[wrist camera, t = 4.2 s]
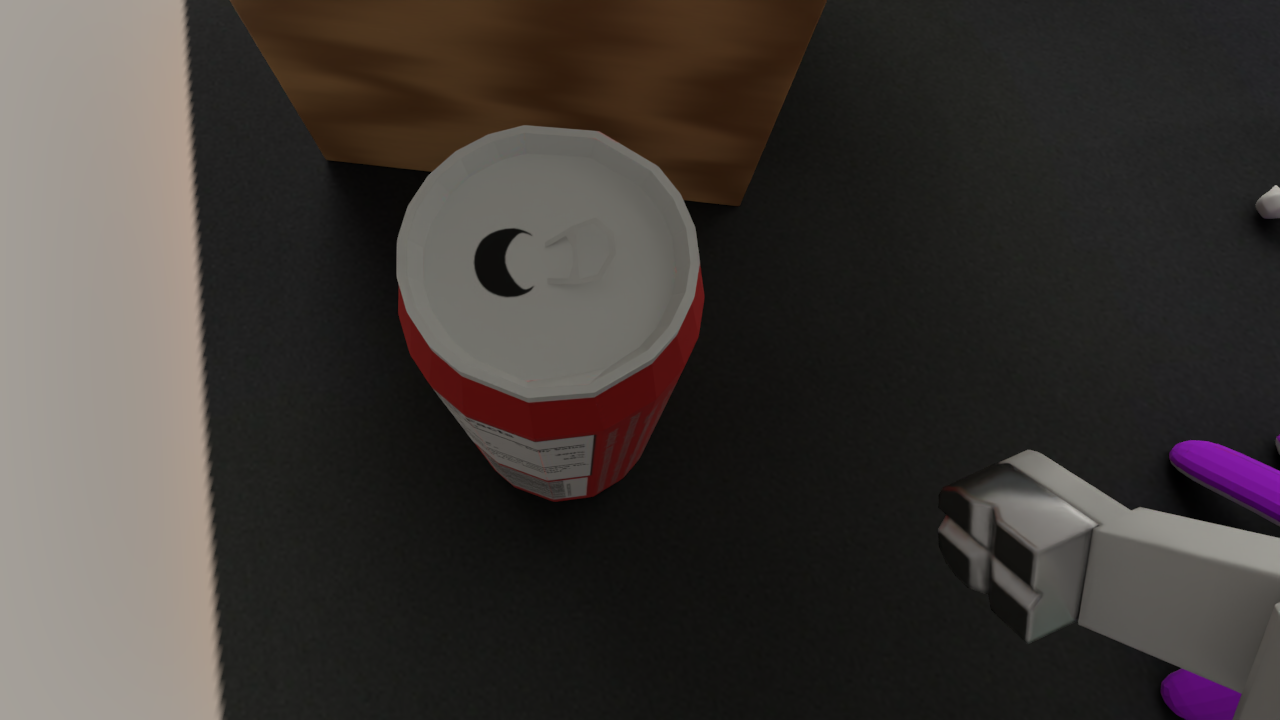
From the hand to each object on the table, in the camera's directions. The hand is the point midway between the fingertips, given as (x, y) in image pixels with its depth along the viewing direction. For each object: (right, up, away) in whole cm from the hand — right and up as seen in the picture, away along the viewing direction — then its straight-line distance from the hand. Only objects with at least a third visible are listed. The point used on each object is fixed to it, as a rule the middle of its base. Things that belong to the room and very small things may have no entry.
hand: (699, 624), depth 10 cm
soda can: (-3, +2, +13) cm, 13 cm away
